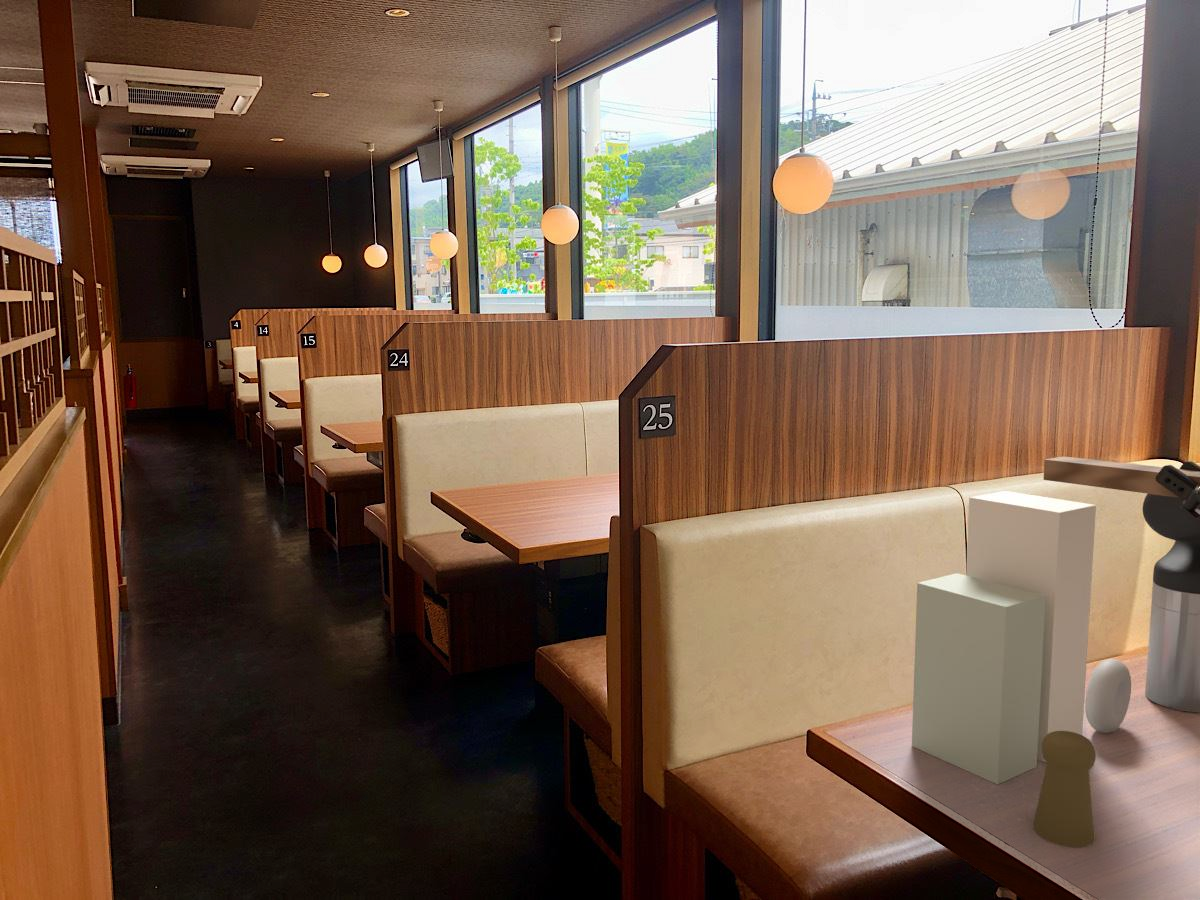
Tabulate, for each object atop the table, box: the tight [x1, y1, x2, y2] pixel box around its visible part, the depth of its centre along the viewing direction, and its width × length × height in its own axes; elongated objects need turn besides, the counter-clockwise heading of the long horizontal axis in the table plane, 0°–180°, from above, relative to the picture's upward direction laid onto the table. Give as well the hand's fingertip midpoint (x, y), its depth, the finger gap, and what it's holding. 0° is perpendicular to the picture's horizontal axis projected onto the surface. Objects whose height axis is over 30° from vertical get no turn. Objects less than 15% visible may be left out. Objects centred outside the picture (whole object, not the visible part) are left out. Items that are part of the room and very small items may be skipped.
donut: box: [1084, 658, 1132, 734], centre depth 125 cm, size 10×4×10 cm, turn 134°
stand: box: [911, 490, 1097, 785], centre depth 119 cm, size 12×18×32 cm
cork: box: [1032, 731, 1097, 848], centre depth 100 cm, size 6×6×11 cm
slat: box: [1043, 456, 1200, 498], centre depth 105 cm, size 20×4×2 cm, turn 34°
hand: (1172, 470), depth 102 cm, fingers closed on slat, 4 cm apart
